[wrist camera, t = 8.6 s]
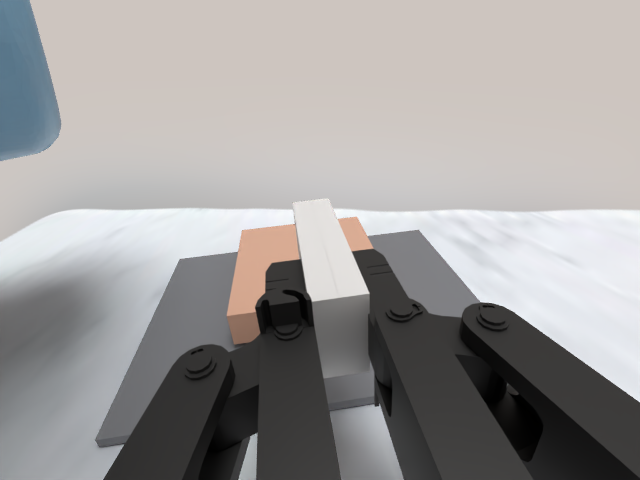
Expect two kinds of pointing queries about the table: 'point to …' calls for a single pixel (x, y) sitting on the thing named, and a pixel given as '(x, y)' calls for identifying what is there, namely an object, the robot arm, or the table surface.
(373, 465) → the table surface
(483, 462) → the robot arm
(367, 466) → the table surface
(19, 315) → the table surface
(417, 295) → the mat
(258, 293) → the tile
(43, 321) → the table surface
